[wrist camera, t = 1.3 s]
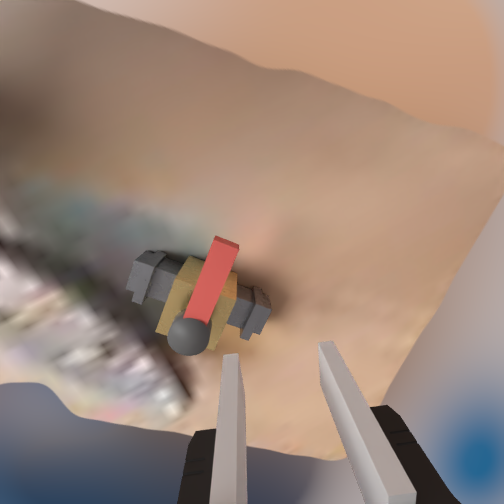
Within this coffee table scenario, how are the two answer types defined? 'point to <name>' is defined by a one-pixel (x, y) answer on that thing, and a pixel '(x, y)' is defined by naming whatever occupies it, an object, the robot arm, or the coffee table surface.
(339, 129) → the coffee table surface
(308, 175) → the coffee table surface
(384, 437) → the robot arm
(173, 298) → the valve
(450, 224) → the coffee table surface
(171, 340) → the lever
